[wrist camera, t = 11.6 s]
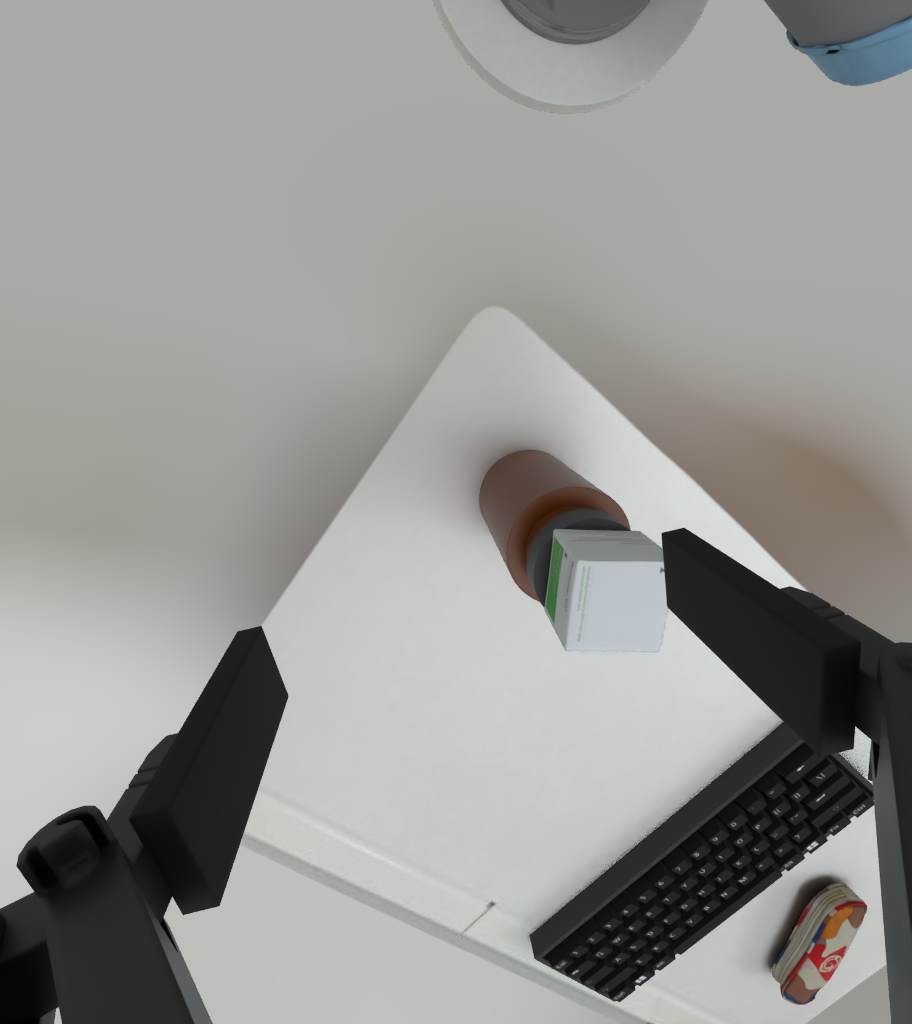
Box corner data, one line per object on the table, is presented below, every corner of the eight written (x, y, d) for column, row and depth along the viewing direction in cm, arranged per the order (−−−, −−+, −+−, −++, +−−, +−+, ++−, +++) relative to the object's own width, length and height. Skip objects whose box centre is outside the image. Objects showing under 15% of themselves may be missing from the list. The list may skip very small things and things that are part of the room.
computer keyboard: (607, 978, 71) (618, 1012, 67) (529, 935, 66) (537, 969, 63) (863, 776, 64) (891, 802, 60) (795, 713, 59) (820, 736, 55)
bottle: (471, 460, 46) (509, 520, 30) (567, 441, 46) (656, 490, 30) (487, 549, 49) (529, 649, 33) (577, 531, 49) (662, 620, 33)
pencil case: (872, 885, 70) (906, 924, 66) (794, 977, 75) (820, 1019, 71) (812, 870, 68) (843, 909, 63) (735, 965, 73) (759, 1008, 68)
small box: (550, 526, 30) (577, 558, 25) (641, 528, 31) (684, 560, 26) (540, 611, 32) (563, 656, 27) (626, 611, 32) (664, 655, 28)
